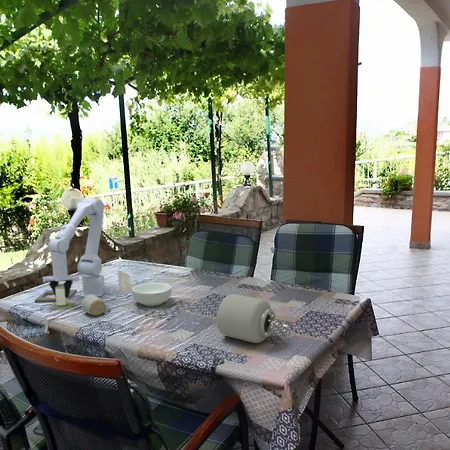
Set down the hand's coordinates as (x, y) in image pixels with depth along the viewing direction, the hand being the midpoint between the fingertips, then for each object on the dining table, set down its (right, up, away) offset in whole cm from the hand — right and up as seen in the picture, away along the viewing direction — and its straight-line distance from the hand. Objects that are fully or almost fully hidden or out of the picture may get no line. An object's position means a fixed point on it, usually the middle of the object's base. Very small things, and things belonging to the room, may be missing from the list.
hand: (62, 297), depth 196 cm
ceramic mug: (+17, -5, -8) cm, 20 cm away
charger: (0, -2, 0) cm, 2 cm away
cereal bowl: (+38, -3, +2) cm, 38 cm away
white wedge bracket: (+23, 0, +21) cm, 31 cm away
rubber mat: (0, -4, +1) cm, 4 cm away
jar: (+81, -9, -37) cm, 89 cm away
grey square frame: (-7, -2, +12) cm, 14 cm away
